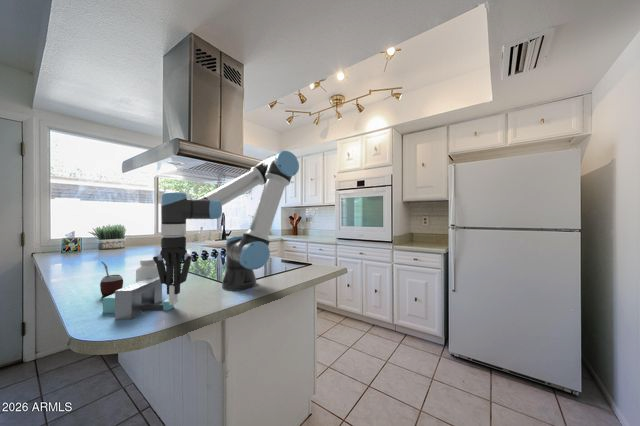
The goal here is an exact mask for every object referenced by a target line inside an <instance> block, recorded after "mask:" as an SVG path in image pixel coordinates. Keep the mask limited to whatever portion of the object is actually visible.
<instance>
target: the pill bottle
mask: <svg viewBox="0 0 640 426" xmlns="http://www.w3.org/2000/svg"><path fill="white" fill-rule="evenodd" d="M139 264H140V266H138V267H137V268H136V270H135V283H136V282H139V281H141V280H144V279H147V278H159V273H158V269H157V265H156V263H155V261H154V260H153V257H150V258H149V257H148V258H142V259H140V261H139Z"/></svg>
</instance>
